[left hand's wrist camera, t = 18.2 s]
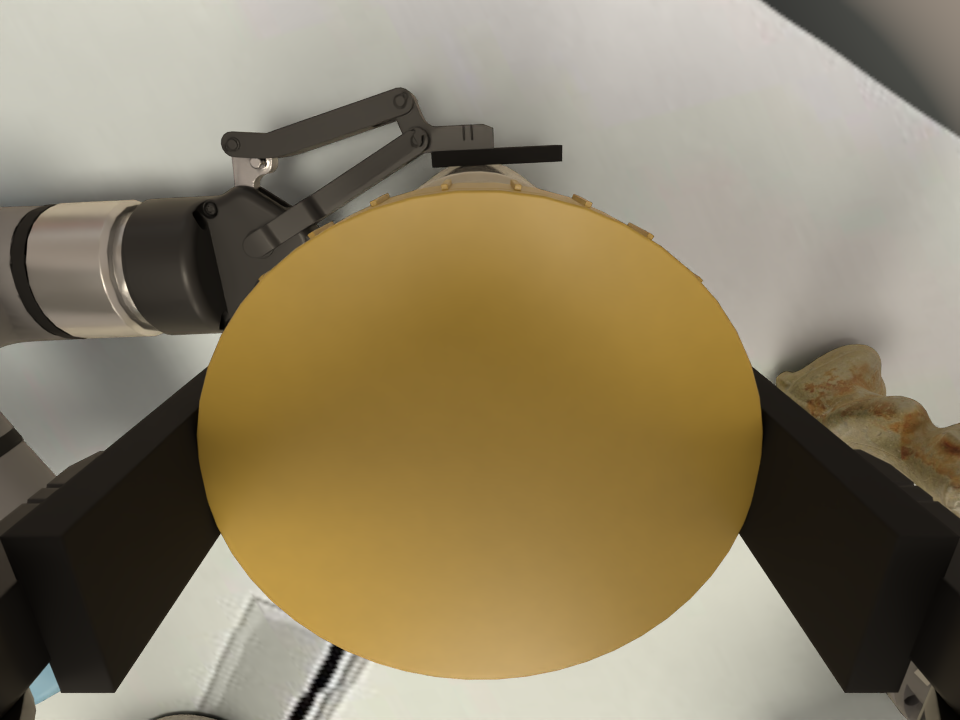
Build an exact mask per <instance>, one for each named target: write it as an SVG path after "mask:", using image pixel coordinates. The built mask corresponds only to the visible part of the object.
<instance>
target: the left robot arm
mask: <svg viewBox="0 0 960 720" xmlns="http://www.w3.org/2000/svg"><path fill="white" fill-rule="evenodd" d="M207 368H208V367H207ZM207 368H205V369H204V370H203V371H202V372H200V373H199V374H198V375H197V376H196V377H194V378H193V379H192V380H191V381H189V382H188V383H187V384H186V385H184V386H183V387H182V388H181V389H180V390H178V391H177V392H176V393H175V394H173V395H172V396H171V397H170V398H169V399H167V400H166V401H165V402H164V403H162V404H161V405H160V406H159V407H158V408H156V409H155V410H154V411H153V412H151V413H150V414H149V415H148V416H147V417H145V418H144V419H143V420H142V421H140V422H139V423H138V424H137V425H136V426H134V427H133V428H132V429H131V430H129V431H128V432H127V433H126V434H125V435H123V436H122V437H121V438H120V439H118V440H117V441H116V442H115V443H114V444H112V445H111V446H110V447H109V448H107V449H106V450H105V451H99V452H97V453H95V454H93V455H91V456H89V457H87V458H85V459H83V460H81V461H79V462H77V463H75V464H73V465H71V466H69V467H68V468H67V469H66V470H64V471H63V472H62V473H60V474H59V475H58V476H57V477H55V478H54V479H53V480H52V481H50V482H49V483H48V484H47V487H46V488H41V489H40V490H39V491H37V492H36V493H35V494H34V495H32V496H31V497H30V498H29V499H27V503H22V504H21V505H20V506H18V507H17V508H16V509H15V510H13V511H12V512H11V513H9V514H8V515H7V516H6V517H4V518H3V519H2V520H1V521H0V720H35V713H36V708H35V702H34V697H33V695H32V693H31V690H30V688H29V687H30V685H31V684H32V683H33V682H34V681H35V679H36V678H37V677H38V676H39V675H40V673H41V672H42V671H43V670H44V668H45V667H46V666H47V665H48V664H49V663H50V666H51V668H52V671H53V673H54V676H55V678H56V681H57V684H58V686H59V689H60V691H61V693H115V692H116V690H117V689H118V687H119V685H120V684H121V682H122V681H123V679H124V678H125V676H126V675H127V673H128V672H129V670H130V669H131V667H132V666H133V664H134V663H135V661H136V660H137V658H138V657H139V655H140V654H141V652H142V651H143V649H144V648H145V646H146V645H147V643H148V642H149V640H150V639H151V637H152V636H153V634H154V633H155V631H156V630H157V628H158V627H159V625H160V624H161V622H162V621H163V619H164V618H165V616H166V615H167V613H168V612H169V610H170V609H171V607H172V606H173V604H174V603H175V601H176V600H177V598H178V597H179V595H180V594H181V592H182V591H183V589H184V588H185V586H186V585H187V583H188V582H189V580H190V579H191V577H192V576H193V574H194V573H195V571H196V570H197V568H198V567H199V565H200V564H201V562H202V561H203V559H204V558H205V556H206V555H207V553H208V552H209V550H210V549H211V547H212V546H213V544H214V543H215V541H216V540H217V538H218V537H219V535H220V534H221V532H220V531H219V529H218V527H217V525H216V522H215V519H214V517H213V514H212V512H211V509H210V506H209V504H208V500H207V496H206V491H205V487H204V482H203V478H202V473H201V469H200V463H199V458H198V444H197V426H198V414H199V402H200V397H201V393H202V389H203V385H204V380H205V376H206V372H207ZM752 369H753V373H754V377H755V381H756V385H757V389H758V393H759V397H760V406H761V416H762V427H763V439H762V455H761V460H760V466H759V470H758V475H757V479H756V484H755V489H754V493H753V497H752V501H751V505H750V508H749V511H748V513H747V516H746V519H745V522H744V524H743V526H742V528H741V530H740V532H739V534H740V536H741V537H742V539H743V540H744V542H745V543H746V545H747V546H748V548H749V549H750V551H751V552H752V554H753V555H754V557H755V558H756V560H757V561H758V563H759V564H760V566H761V567H762V569H763V570H764V572H765V573H766V575H767V576H768V578H769V579H770V581H771V582H772V584H773V585H774V587H775V588H776V590H777V591H778V593H779V594H780V596H781V597H782V599H783V600H784V602H785V603H786V605H787V606H788V608H789V609H790V611H791V612H792V614H793V615H794V617H795V618H796V620H797V621H798V623H799V624H800V626H801V627H802V629H803V630H804V632H805V633H806V635H807V636H808V638H809V639H810V641H811V642H812V644H813V645H814V647H815V648H816V650H817V651H818V653H819V654H820V656H821V658H822V659H823V661H824V662H825V664H826V665H827V667H828V668H829V670H830V671H831V673H832V674H833V676H834V677H835V679H836V680H837V682H838V683H839V685H840V686H841V688H842V689H843V691H844V692H845V693H887V695H888V696H889V697H890V699H891V700H892V701H893V703H894V704H895V706H896V707H897V708H898V710H899V711H900V712H901V714H902V715H903V716H904V717H905V718H906V719H908V720H960V518H959V517H958V516H956V515H955V514H954V513H953V512H951V511H950V510H949V509H947V508H946V507H945V506H944V505H942V504H941V503H940V502H938V501H933V497H932V496H931V495H929V494H928V493H927V492H926V491H924V490H923V489H922V488H920V487H919V486H914V482H913V481H911V480H910V479H909V478H908V477H906V476H905V475H904V474H902V473H901V472H900V471H899V470H897V469H896V468H895V467H893V466H892V465H891V464H889V463H887V462H885V461H883V460H881V459H879V458H877V457H875V456H873V455H871V454H869V453H867V452H865V451H863V450H861V449H852V448H851V447H850V446H849V445H847V444H846V443H845V442H844V441H842V440H841V439H840V438H839V437H837V436H836V435H835V434H834V433H833V432H831V431H830V430H829V429H828V428H826V427H825V426H824V425H823V424H822V423H820V422H819V421H818V420H817V419H815V418H814V417H813V416H812V415H811V414H809V413H808V412H807V411H806V410H804V409H803V408H802V407H801V406H800V405H798V404H797V403H796V402H795V401H793V400H792V399H791V398H790V397H789V396H787V395H786V394H785V393H784V392H782V391H781V390H780V389H779V388H778V387H776V386H775V385H774V384H773V383H771V382H770V381H769V380H768V379H767V378H765V377H764V376H763V375H762V374H760V373H759V372H758V371H757V370H756V369H754V368H753V367H752Z"/></svg>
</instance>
